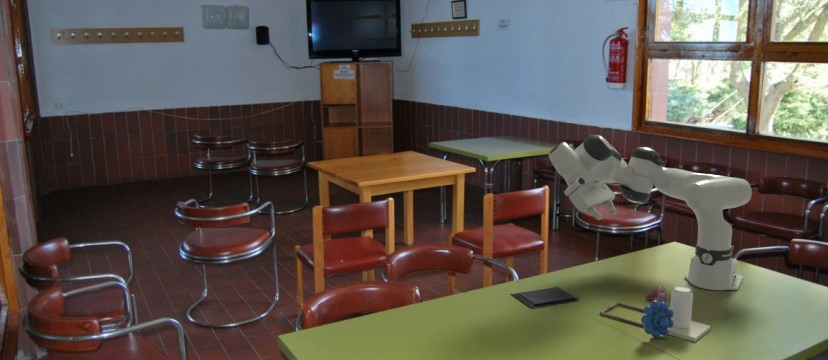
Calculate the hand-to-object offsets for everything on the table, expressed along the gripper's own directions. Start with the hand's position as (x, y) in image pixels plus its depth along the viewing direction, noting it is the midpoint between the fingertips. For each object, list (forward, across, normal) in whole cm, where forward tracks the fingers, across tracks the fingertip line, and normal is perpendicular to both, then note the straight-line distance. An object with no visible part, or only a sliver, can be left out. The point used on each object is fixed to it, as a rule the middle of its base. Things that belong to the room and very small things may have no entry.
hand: (607, 216), depth 231 cm
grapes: (+40, +18, -1) cm, 44 cm away
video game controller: (+32, -8, -10) cm, 34 cm away
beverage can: (+41, +7, +1) cm, 42 cm away
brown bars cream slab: (+36, +7, -6) cm, 37 cm away
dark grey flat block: (+10, +12, -32) cm, 36 cm away
